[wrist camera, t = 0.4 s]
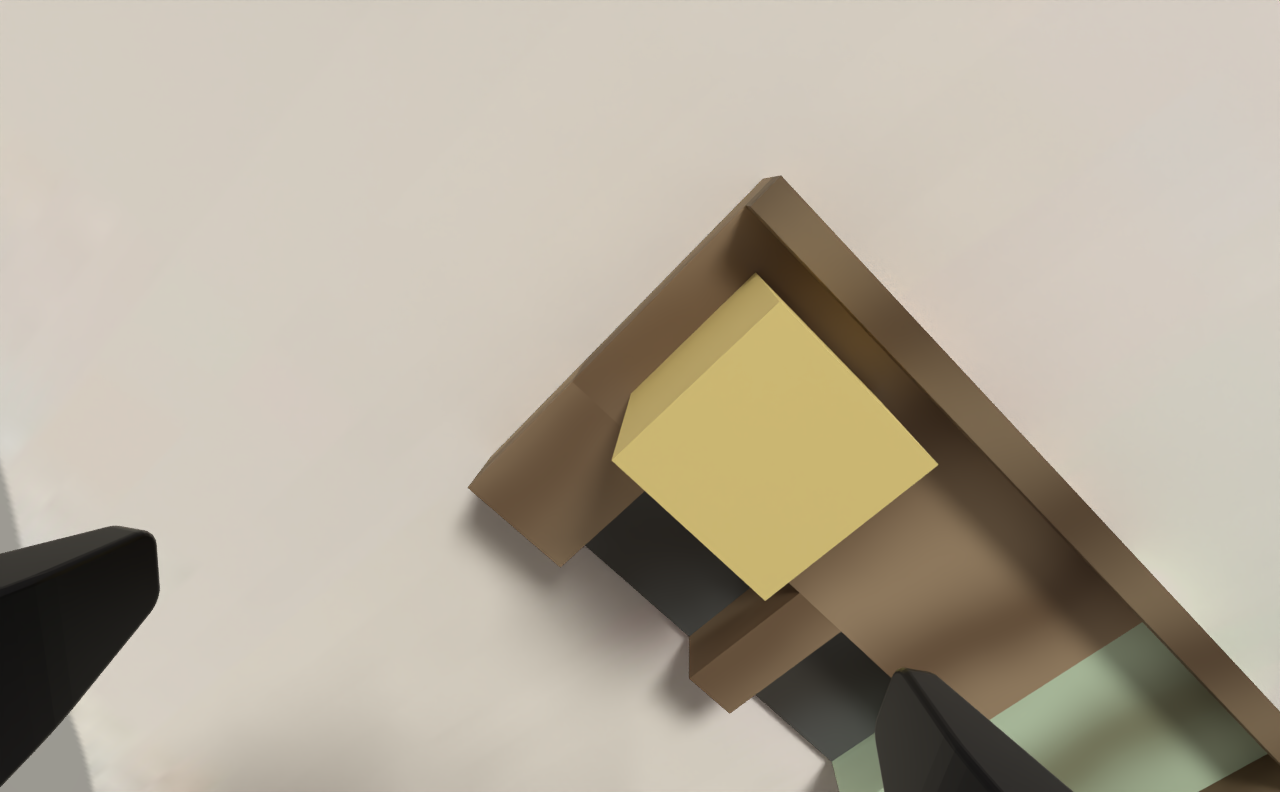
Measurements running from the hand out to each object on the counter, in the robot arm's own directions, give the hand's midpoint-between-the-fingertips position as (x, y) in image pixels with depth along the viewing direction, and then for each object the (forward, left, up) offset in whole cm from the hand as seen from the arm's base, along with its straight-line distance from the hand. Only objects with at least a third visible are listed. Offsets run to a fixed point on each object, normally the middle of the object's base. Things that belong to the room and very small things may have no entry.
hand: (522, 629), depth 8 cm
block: (-4, 0, -12) cm, 12 cm away
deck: (-10, +7, -14) cm, 19 cm away
